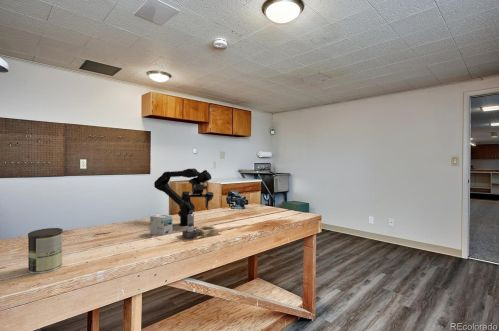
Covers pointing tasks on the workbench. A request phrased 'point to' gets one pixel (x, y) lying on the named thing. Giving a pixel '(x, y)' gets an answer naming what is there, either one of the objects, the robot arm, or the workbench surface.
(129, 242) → the workbench surface
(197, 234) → the socket rack board
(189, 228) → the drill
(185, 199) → the robot arm
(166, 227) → the light bulb box
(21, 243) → the workbench surface
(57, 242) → the coffee can
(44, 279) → the workbench surface
